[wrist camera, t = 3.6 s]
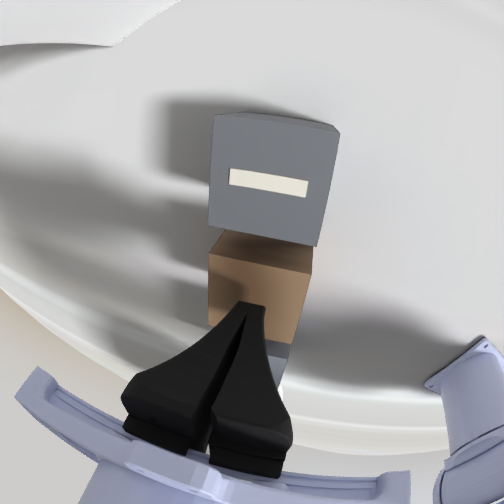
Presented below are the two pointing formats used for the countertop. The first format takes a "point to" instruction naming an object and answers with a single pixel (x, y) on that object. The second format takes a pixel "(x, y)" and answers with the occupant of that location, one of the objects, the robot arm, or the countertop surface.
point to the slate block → (277, 358)
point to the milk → (75, 20)
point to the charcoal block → (271, 175)
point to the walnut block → (259, 280)
